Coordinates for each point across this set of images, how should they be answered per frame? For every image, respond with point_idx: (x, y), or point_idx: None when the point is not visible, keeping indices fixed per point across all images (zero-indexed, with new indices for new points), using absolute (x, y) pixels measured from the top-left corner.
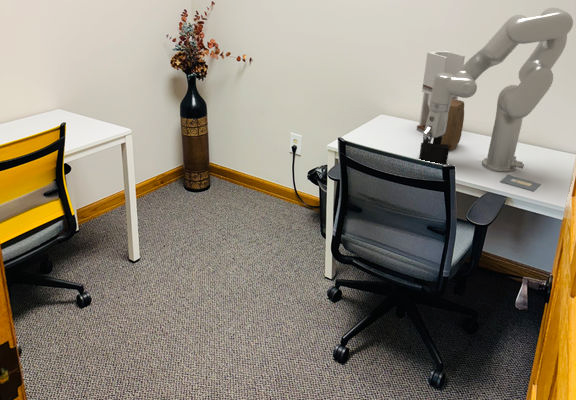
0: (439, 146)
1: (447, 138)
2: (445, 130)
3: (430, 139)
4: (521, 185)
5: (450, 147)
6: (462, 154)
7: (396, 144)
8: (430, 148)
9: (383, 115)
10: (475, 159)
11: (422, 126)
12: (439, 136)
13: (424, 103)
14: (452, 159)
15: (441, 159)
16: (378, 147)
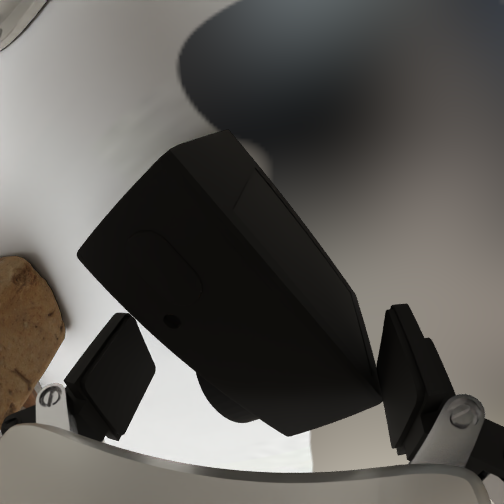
0: (235, 296)
1: (4, 326)
2: (3, 448)
3: (474, 444)
4: None
5: (21, 272)
6: (10, 187)
7: (210, 441)
8: (341, 341)
9: None
10: (7, 92)
11: None
12: (87, 406)
13: None
14: (98, 169)
15: (256, 178)
16: (300, 458)
